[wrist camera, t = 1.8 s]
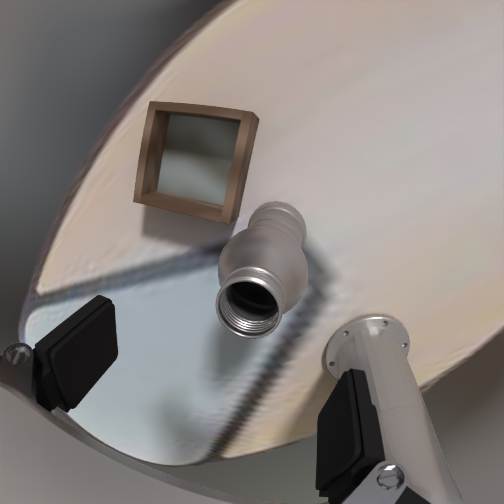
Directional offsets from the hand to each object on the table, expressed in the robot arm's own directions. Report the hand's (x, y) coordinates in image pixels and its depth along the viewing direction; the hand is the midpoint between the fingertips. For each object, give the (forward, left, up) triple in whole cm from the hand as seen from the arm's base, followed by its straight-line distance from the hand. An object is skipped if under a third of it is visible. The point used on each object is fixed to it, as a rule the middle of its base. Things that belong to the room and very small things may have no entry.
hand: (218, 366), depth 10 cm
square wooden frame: (+6, +11, -25) cm, 28 cm away
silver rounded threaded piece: (0, 0, -25) cm, 25 cm away
